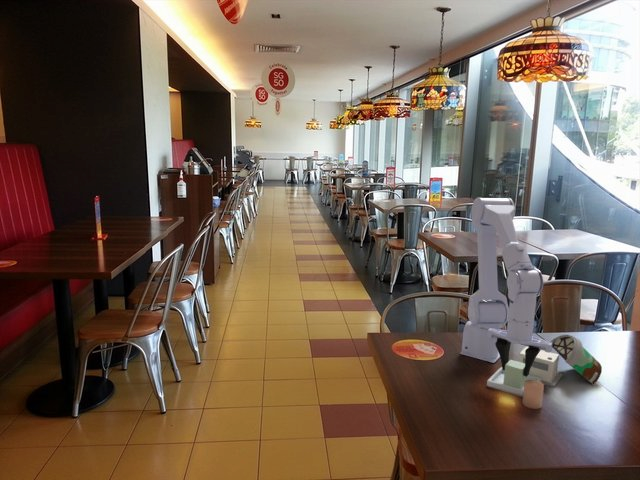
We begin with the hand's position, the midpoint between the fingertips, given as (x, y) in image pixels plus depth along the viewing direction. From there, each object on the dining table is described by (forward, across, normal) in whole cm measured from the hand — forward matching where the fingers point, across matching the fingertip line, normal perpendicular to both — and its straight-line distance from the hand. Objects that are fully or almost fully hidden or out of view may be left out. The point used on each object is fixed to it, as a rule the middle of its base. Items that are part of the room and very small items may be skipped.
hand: (515, 371), depth 119 cm
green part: (+3, 0, 0) cm, 3 cm away
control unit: (+3, +3, +9) cm, 10 cm away
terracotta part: (+3, +6, -7) cm, 10 cm away
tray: (+3, 0, 0) cm, 3 cm away
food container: (+1, +14, +18) cm, 23 cm away
